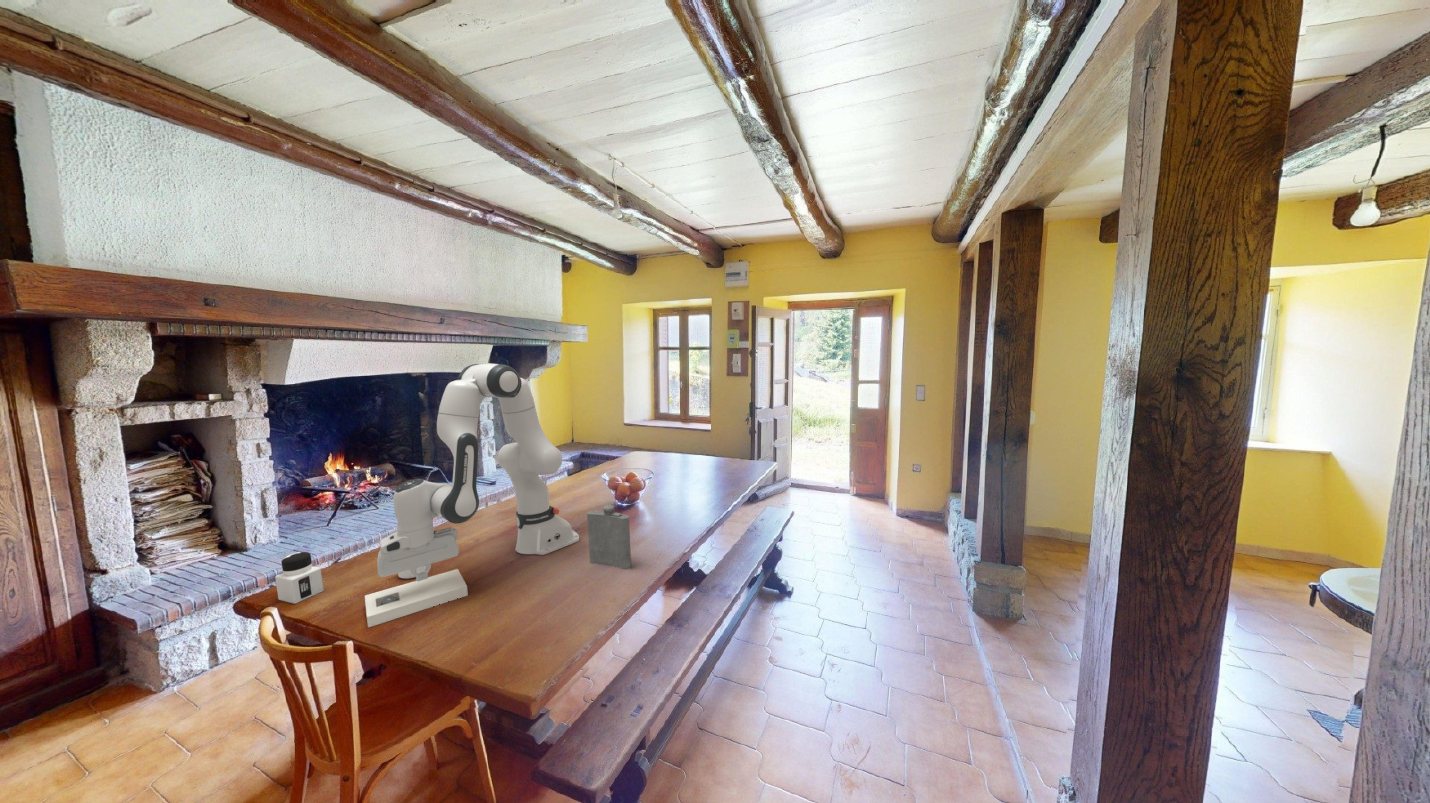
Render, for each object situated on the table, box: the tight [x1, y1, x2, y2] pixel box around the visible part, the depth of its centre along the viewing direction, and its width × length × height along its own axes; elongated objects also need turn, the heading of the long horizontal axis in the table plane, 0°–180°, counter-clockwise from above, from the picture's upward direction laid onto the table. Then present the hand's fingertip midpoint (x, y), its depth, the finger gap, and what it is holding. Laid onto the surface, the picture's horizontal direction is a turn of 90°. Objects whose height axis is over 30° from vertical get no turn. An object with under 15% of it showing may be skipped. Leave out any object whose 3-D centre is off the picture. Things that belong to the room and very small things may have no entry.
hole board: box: [364, 568, 469, 628], centre depth 135 cm, size 24×14×3 cm, turn 129°
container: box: [274, 551, 324, 605], centre depth 138 cm, size 8×8×13 cm
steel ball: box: [381, 595, 398, 606], centre depth 131 cm, size 4×4×4 cm
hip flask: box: [586, 504, 632, 570], centre depth 155 cm, size 16×4×20 cm, turn 69°
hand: (422, 579), depth 136 cm, fingers closed
